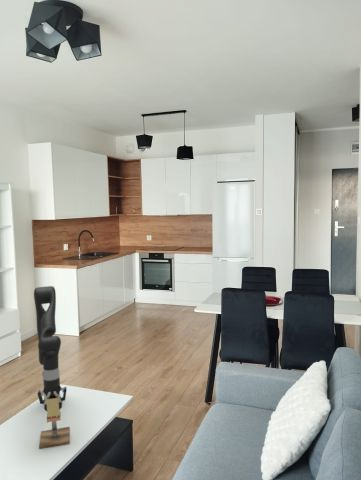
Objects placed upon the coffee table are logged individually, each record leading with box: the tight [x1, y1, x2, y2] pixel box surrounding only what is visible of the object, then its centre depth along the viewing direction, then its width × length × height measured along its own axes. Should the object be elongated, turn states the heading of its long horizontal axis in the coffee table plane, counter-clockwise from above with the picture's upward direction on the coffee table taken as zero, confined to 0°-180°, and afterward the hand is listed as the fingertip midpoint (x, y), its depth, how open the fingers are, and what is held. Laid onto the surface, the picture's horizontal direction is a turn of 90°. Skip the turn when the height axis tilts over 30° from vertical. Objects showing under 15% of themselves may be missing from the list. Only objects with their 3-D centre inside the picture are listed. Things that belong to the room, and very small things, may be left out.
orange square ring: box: [46, 410, 62, 423], centre depth 203 cm, size 6×6×2 cm
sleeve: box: [46, 394, 61, 418], centre depth 202 cm, size 6×6×9 cm
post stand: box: [38, 416, 71, 450], centre depth 203 cm, size 14×14×14 cm
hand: (53, 409), depth 202 cm, fingers closed on sleeve, 5 cm apart
